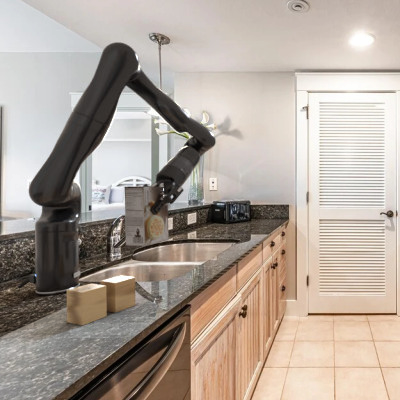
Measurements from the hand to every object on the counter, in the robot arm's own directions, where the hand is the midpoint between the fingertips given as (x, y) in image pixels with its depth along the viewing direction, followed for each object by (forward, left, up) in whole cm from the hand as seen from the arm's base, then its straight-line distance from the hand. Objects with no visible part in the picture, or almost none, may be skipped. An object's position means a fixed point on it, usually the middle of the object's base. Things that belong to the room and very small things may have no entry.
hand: (142, 212), depth 81 cm
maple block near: (+4, -17, -23) cm, 28 cm away
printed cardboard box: (0, +2, -9) cm, 9 cm away
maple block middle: (+4, -10, -23) cm, 25 cm away
